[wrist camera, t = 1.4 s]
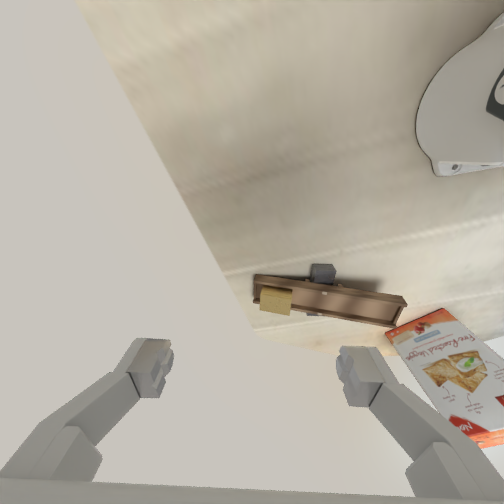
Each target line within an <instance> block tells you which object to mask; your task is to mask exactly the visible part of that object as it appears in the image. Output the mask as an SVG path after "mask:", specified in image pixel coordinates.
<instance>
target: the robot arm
mask: <svg viewBox="0 0 504 504" xmlns="http://www.w3.org/2000/svg"><path fill="white" fill-rule="evenodd" d="M416 134H417V139H418V142H419V144H420V146H421V148H422V150H423V151H424V152H425V153H426V154H427V155H428V156H429V158H430V159H431V161H432V166H433V170H434V173H435V174H436V175H437V176H450V175H456V174H462V173H468V172H474V171H480V170H486V169H492V168H498V167H504V12H503V13H502V14H501V15H500V16H499V17H498V18H497V19H496V20H495V21H494V22H493V23H492V24H491V25H490V26H489V27H488V29H487V30H486V31H485V32H484V33H483V34H482V35H481V36H480V37H479V38H478V39H476V40H475V41H474V42H472V43H471V44H469V45H468V46H466V47H465V48H463V49H462V50H460V51H459V52H458V53H456V54H455V55H454V56H453V57H452V58H451V59H450V60H448V61H447V62H446V63H445V65H444V66H443V67H442V68H441V69H440V70H439V72H438V73H437V74H436V75H435V77H434V78H433V80H432V81H431V83H430V84H429V86H428V88H427V90H426V92H425V94H424V96H423V98H422V101H421V103H420V106H419V110H418V114H417V120H416ZM453 165H454V167H453V168H452V166H453ZM170 346H171V342H170V340H166V339H150V338H136V339H135V340H134V341H133V342H132V344H131V345H130V347H129V348H128V350H127V351H126V353H125V354H124V356H123V357H122V359H121V360H120V362H119V363H118V365H117V367H116V368H115V369H114V371H113V372H109V373H108V374H106V375H105V376H103V377H102V378H101V379H99V380H98V381H96V382H95V383H94V384H92V385H91V386H90V387H88V388H87V389H86V390H84V391H83V392H81V393H80V394H79V395H77V396H76V397H74V398H73V399H72V400H70V401H69V402H68V403H66V404H65V405H64V406H62V407H61V408H59V409H58V410H57V411H55V412H54V413H52V414H51V415H50V416H48V417H47V418H46V419H44V420H43V421H41V422H40V423H39V424H38V425H37V426H36V428H35V429H34V430H33V431H32V433H31V434H30V435H29V436H28V437H27V439H26V440H25V441H24V443H23V444H22V445H21V446H20V447H19V449H18V450H17V451H16V452H15V453H14V455H13V456H12V457H11V458H10V460H9V461H8V462H7V463H6V465H5V466H4V467H3V468H2V470H1V471H0V504H504V480H503V478H502V477H501V476H500V474H499V473H498V472H497V470H496V469H495V468H494V466H493V465H492V464H491V462H490V461H489V460H488V458H487V457H486V456H485V455H484V453H483V452H482V450H481V449H480V448H479V446H478V445H477V444H476V443H475V442H474V441H473V440H472V439H470V438H469V437H468V436H467V435H466V434H464V433H463V432H462V431H461V430H459V429H458V428H457V427H456V426H454V425H453V424H452V423H451V422H449V421H448V420H447V419H446V418H444V417H443V416H442V415H441V414H439V413H438V412H437V411H436V410H434V409H433V408H432V407H431V406H429V405H428V404H427V403H426V402H425V401H423V400H422V399H421V398H420V397H418V396H417V395H416V394H415V393H413V392H412V391H411V390H410V389H409V388H407V387H406V386H405V385H404V384H399V382H398V381H397V379H396V377H395V376H394V374H393V373H392V371H391V369H390V368H389V366H388V365H387V363H386V361H385V360H384V358H383V356H382V355H381V353H380V352H379V350H378V349H377V348H376V347H363V346H342V347H341V348H340V350H339V351H340V354H341V355H339V356H338V357H337V360H336V370H337V374H338V377H339V379H340V380H341V381H342V382H343V383H344V387H343V391H344V393H345V396H346V399H347V402H348V404H349V406H356V407H369V409H370V411H371V412H372V413H373V414H374V415H375V416H376V418H377V419H378V420H379V421H380V422H381V423H382V425H383V426H384V427H385V428H386V429H387V430H388V432H389V433H390V434H391V435H392V436H393V437H394V438H395V440H396V441H397V442H398V443H399V444H400V446H401V447H402V448H403V449H404V450H405V451H406V453H407V454H408V455H409V456H410V457H411V458H412V460H413V461H414V462H413V463H412V464H411V465H410V466H409V467H408V468H407V469H406V472H405V474H406V476H407V479H408V481H409V483H410V485H411V488H412V490H413V492H414V494H415V496H416V497H401V496H400V497H399V496H380V495H359V494H338V493H336V494H335V493H316V492H296V491H275V490H254V489H232V488H211V487H190V486H168V485H148V484H126V483H105V482H92V480H93V478H94V476H95V474H96V472H97V470H98V468H99V466H100V463H101V462H102V455H101V454H100V452H99V451H98V450H97V449H96V447H95V446H96V445H97V444H98V443H99V442H100V441H101V440H102V438H103V437H104V436H105V435H106V434H107V433H108V432H109V431H110V430H111V429H112V428H113V427H114V426H115V425H116V424H117V423H118V421H120V420H121V419H122V417H123V416H124V415H125V414H126V413H127V412H128V411H129V410H130V409H131V408H132V407H133V406H134V405H135V404H136V403H137V402H138V400H139V399H140V398H159V397H160V395H161V393H162V390H163V387H164V385H165V383H166V381H165V378H164V377H165V376H166V375H167V374H168V373H169V372H170V370H171V367H172V364H173V359H174V354H173V350H171V349H170Z"/></svg>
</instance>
